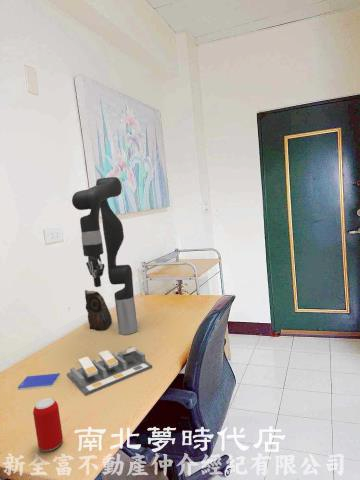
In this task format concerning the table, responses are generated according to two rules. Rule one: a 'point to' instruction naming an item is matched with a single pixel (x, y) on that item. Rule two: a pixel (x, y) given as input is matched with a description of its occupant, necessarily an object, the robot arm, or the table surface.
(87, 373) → the rocker
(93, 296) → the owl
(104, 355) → the rocker middle
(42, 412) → the beverage can
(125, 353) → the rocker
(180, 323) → the table surface
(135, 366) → the switch unit
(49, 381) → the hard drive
